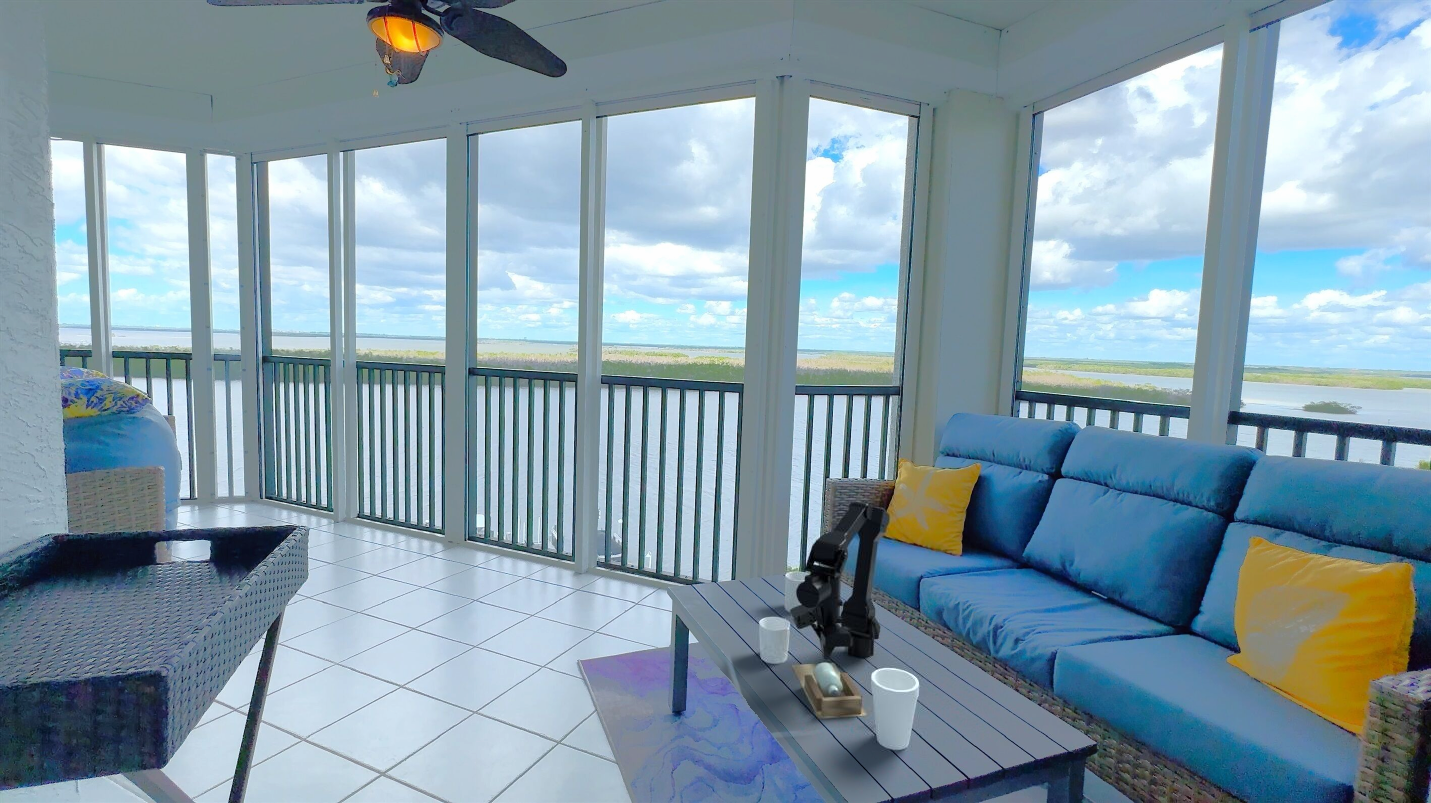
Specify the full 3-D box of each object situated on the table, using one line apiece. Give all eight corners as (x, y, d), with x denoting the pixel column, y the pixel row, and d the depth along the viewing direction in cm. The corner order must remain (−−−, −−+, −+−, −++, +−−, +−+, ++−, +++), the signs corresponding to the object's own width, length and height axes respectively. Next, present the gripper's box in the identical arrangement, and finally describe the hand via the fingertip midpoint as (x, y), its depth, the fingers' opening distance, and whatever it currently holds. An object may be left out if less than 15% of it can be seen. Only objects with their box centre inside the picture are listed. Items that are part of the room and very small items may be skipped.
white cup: (753, 663, 160) (754, 625, 159) (765, 650, 167) (766, 614, 166) (782, 671, 157) (783, 632, 156) (793, 658, 163) (794, 620, 163)
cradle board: (833, 666, 159) (834, 649, 159) (867, 719, 137) (868, 699, 136) (791, 668, 158) (791, 651, 157) (818, 722, 135) (818, 702, 135)
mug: (780, 605, 197) (780, 573, 196) (802, 602, 200) (803, 570, 199) (798, 621, 185) (799, 587, 184) (822, 617, 188) (823, 583, 187)
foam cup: (881, 721, 136) (883, 663, 135) (923, 738, 130) (926, 678, 129) (861, 741, 129) (863, 680, 128) (904, 761, 123) (907, 697, 122)
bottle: (834, 662, 149) (847, 685, 139) (833, 682, 150) (846, 707, 139) (813, 662, 149) (825, 686, 139) (813, 682, 149) (824, 707, 139)
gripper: (784, 580, 155) (782, 641, 156) (804, 611, 136) (802, 680, 138) (828, 578, 156) (826, 639, 158) (854, 609, 138) (851, 678, 139)
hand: (825, 658), depth 148 cm, fingers closed
